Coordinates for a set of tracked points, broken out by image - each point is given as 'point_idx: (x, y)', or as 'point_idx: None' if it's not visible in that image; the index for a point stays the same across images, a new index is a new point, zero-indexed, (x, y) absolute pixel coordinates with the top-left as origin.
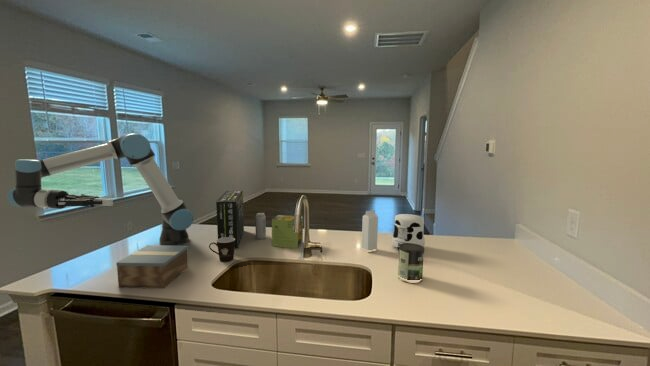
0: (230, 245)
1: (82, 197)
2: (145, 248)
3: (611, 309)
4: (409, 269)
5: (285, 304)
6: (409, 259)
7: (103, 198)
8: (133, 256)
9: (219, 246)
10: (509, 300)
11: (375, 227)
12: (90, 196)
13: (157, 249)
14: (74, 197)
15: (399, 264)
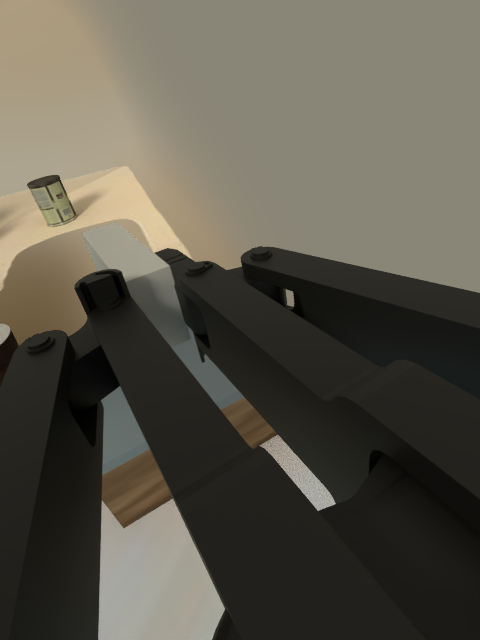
0: (5, 333)
1: (211, 419)
2: (123, 438)
3: (92, 173)
4: (69, 201)
5: (171, 241)
6: (63, 188)
7: (104, 255)
8: (208, 386)
9: (12, 349)
10: (94, 188)
11: None
12: (39, 440)
13: (119, 395)
14: (392, 367)
15: (57, 205)
